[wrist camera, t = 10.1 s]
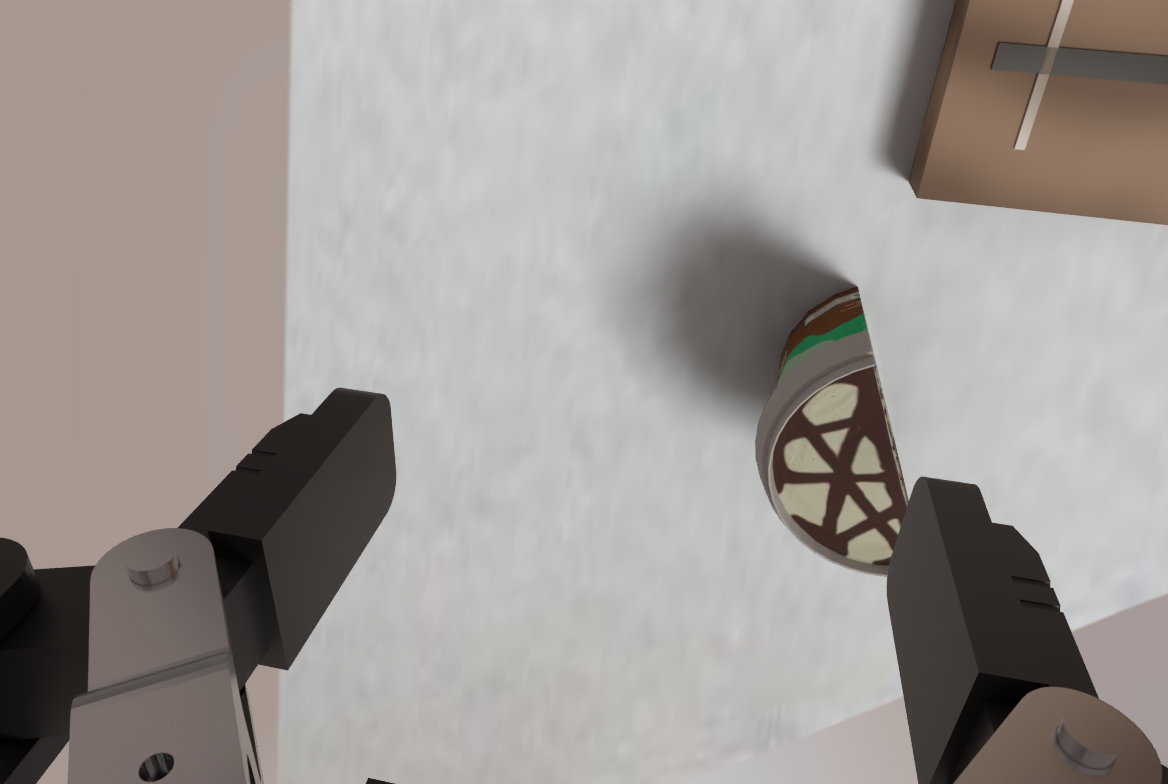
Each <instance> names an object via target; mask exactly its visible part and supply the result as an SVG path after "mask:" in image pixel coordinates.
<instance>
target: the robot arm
mask: <svg viewBox="0 0 1168 784" xmlns="http://www.w3.org/2000/svg"><path fill="white" fill-rule="evenodd" d="M395 486H396V465H395V454H394V442H393V430H392V418H391V408H390V402H389V400H388V398H387V396H386V395H384V394H379V393H372V392H366V391H359V390H352V389H346V388H337V389H335V390H334V391H333V392H332V393H331V394H330V395H329V396H328V397H327V398H326V399H325V400H324V401H323V403H322V404H321V405H320V406H319V407H318V408H317V409H316V410H315V411H314V413H313V414H312V415H308V414H302V413H300V414H299V415H297V416H295V417H293V418H291V419H289V420H288V421H286V422H284V423H282V424H280V425H278V426H277V427H275V428H273V429H271V430H270V431H269V432H268V433H267V434H266V436H265V437H264V438H263V439H262V440H261V441H260V442H259V443H258V444H257V445H256V446H255V447H254V448H253V449H252V454H248V455H246V457H245V458H244V459H243V460H242V461H241V462H240V463H239V464H238V465H237V466H236V470H235V471H231V472H230V473H229V474H228V475H227V477H226V478H225V479H224V480H223V481H222V482H221V483H220V484H219V485H218V486H217V487H216V488H215V489H214V490H213V491H212V492H211V494H209V495H208V496H207V498H206V499H205V500H204V501H203V502H202V503H201V504H200V505H199V506H198V507H197V508H196V509H195V510H194V511H193V512H192V513H191V514H190V515H189V517H188V518H187V519H186V520H185V521H184V522H183V523H182V524H181V525H180V526H179V527H178V528H167V529H159V530H153V531H149V532H146V533H142V534H139V535H136V536H134V537H131V538H129V539H127V540H125V541H123V542H121V543H120V544H118V545H117V546H115V547H113V548H112V549H111V550H110V551H108V552H107V553H106V554H105V555H104V556H103V557H102V558H101V559H100V560H99V561H98V563H97V564H96V565H95V566H82V567H66V568H50V569H35V570H33V567H32V565H31V562H30V560H29V557H28V555H27V552H26V550H25V549H24V547H23V546H22V545H20V544H19V543H17V542H15V541H13V540H10V539H5V538H0V784H36V783H37V781H38V780H39V779H40V778H41V776H42V775H43V774H44V772H45V771H46V770H47V769H48V767H49V766H50V765H51V763H52V762H53V761H54V759H55V758H56V757H57V755H58V754H59V753H60V752H61V750H62V749H63V748H64V746H65V745H66V744H67V742H68V741H69V763H68V764H69V765H68V784H264V781H263V775H262V770H261V764H260V758H259V753H258V746H257V741H256V735H255V730H254V723H253V718H252V712H251V706H250V700H249V694H248V690H247V686H246V682H247V680H248V678H249V677H250V676H251V674H252V673H253V671H254V669H255V668H256V667H257V665H258V664H259V665H264V666H269V667H274V668H279V669H284V670H288V669H289V668H290V666H291V665H292V663H293V661H294V660H295V658H296V657H297V655H298V654H299V652H300V650H301V649H302V647H303V646H304V644H305V642H306V641H307V639H308V638H309V636H310V635H311V633H312V631H313V630H314V628H315V627H316V625H317V623H318V622H319V620H320V619H321V617H322V615H323V614H324V612H325V611H326V609H327V608H328V606H329V604H330V603H331V601H332V600H333V598H334V596H335V595H336V593H337V592H338V590H339V589H340V587H341V585H342V584H343V582H344V581H345V579H346V577H347V576H348V574H349V573H350V571H351V569H352V568H353V566H354V565H355V563H356V562H357V560H358V558H359V557H360V555H361V554H362V552H363V550H364V549H365V547H366V546H367V544H368V543H369V541H370V539H371V538H372V536H373V535H374V533H375V531H376V530H377V528H378V527H379V525H380V523H381V522H382V520H383V519H384V517H385V516H386V514H387V512H388V510H389V508H390V506H391V503H392V500H393V496H394V492H395ZM1050 583H1051V582H1050V580H1049V577H1048V575H1047V572H1046V570H1045V567H1044V565H1043V563H1042V560H1041V558H1040V555H1039V553H1038V552H1037V551H1036V550H1035V549H1034V548H1033V547H1032V546H1031V545H1030V544H1029V543H1028V542H1027V541H1026V540H1025V539H1024V537H1023V536H1022V535H1021V534H1020V533H1019V532H1018V531H1017V530H1016V529H1015V528H1014V527H1013V526H1010V525H1004V524H997V523H992V522H991V519H990V516H989V514H988V511H987V508H986V505H985V502H984V500H983V497H982V494H981V491H980V489H979V488H978V486H977V485H975V484H968V483H962V482H955V481H948V480H942V479H935V478H928V477H920V478H919V479H918V480H917V482H916V483H915V485H914V488H913V491H912V494H911V497H910V500H909V503H908V506H907V509H906V512H905V515H904V518H903V521H902V524H901V527H900V531H899V534H898V537H897V540H896V543H895V546H894V549H893V552H892V555H891V559H890V563H889V568H888V576H887V600H888V606H889V612H890V618H891V624H892V630H893V636H894V642H895V648H896V654H897V660H898V666H899V671H900V677H901V683H902V689H903V695H904V701H905V707H906V713H907V719H908V725H909V730H910V736H911V742H912V748H913V754H914V760H915V766H916V772H917V778H918V784H1168V768H1167V767H1165V766H1163V765H1162V764H1161V762H1160V759H1159V757H1158V755H1157V752H1156V750H1155V748H1154V747H1153V745H1152V743H1151V742H1150V740H1149V739H1148V738H1147V737H1146V735H1145V734H1144V733H1143V732H1142V731H1141V729H1140V728H1139V727H1138V726H1137V725H1136V724H1135V723H1134V722H1132V721H1131V720H1130V719H1129V718H1128V717H1126V716H1125V715H1124V714H1123V713H1121V712H1120V711H1118V710H1117V709H1115V708H1114V707H1113V706H1111V705H1109V704H1107V703H1106V702H1104V701H1102V700H1100V699H1099V698H1098V695H1097V693H1096V690H1095V688H1094V686H1093V683H1092V681H1091V678H1090V676H1089V674H1088V671H1087V669H1086V666H1085V664H1084V662H1083V659H1082V657H1081V654H1080V652H1079V649H1078V647H1077V645H1076V642H1075V640H1074V637H1073V635H1072V633H1071V630H1070V628H1069V625H1068V623H1067V620H1066V618H1065V616H1064V613H1063V612H1060V604H1059V601H1058V599H1057V596H1056V594H1055V592H1054V589H1053V588H1050ZM366 784H394V783H389V782H385V781H380V780H375V779H371V778H368V780H367V782H366Z"/></svg>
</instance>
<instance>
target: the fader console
mask: <svg viewBox="0 0 1168 784" xmlns="http://www.w3.org/2000/svg"><path fill="white" fill-rule="evenodd" d="M909 183H910V185H911V187H912V189H913V191H914V193H915V195H916V197H917V198H922V199H931V200H940V201H949V202H959V203H968V204H977V205H987V206H996V207H1005V208H1014V209H1024V210H1033V211H1042V212H1051V213H1061V214H1070V215H1079V216H1088V217H1098V218H1107V219H1116V220H1126V221H1135V222H1144V223H1153V224H1163V225H1168V0H956V3H955V7H954V11H953V14H952V18H951V22H950V26H949V30H948V34H947V37H946V41H945V45H944V49H943V53H942V57H941V60H940V64H939V68H938V72H937V76H936V80H935V83H934V87H933V91H932V95H931V99H930V102H929V106H928V110H927V114H926V118H925V122H924V125H923V129H922V133H921V137H920V141H919V145H918V148H917V152H916V156H915V160H914V164H913V168H912V171H911V175H910V179H909Z"/></svg>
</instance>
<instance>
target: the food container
mask: <svg viewBox="0 0 1168 784" xmlns="http://www.w3.org/2000/svg"><path fill="white" fill-rule="evenodd" d="M755 446H756V462H757V466H758V470H759V475H760V478H761V481H762V483H763V486H764V489H765V491H766V494H767V496H768V498H769V501H770V503H771V505H772V508H773V509H774V511H775V512H776V514H777V515H778V517H779V518H780V520H781V521H782V522H783V524H784V525H785V526H786V527H787V528H788V529H789V530H790V532H791V533H792V534H793V535H794V536H795V537H796V538H797V539H798V540H799V541H800V542H801V543H802V544H804V545H805V546H806V547H808V548H809V549H810V550H812V551H813V552H814V553H816V554H818V555H819V556H821V557H823V558H825V559H826V560H828V561H830V562H832V563H835V564H837V565H840V566H842V567H844V568H847V569H850V570H854V571H858V572H861V573H865V574H870V575H877V576H884V577H887V576H888V568H889V563H890V559H891V555H892V552H893V549H894V546H895V543H896V540H897V537H898V534H899V531H900V527H901V524H902V521H903V518H904V515H905V512H906V509H907V506H908V503H909V500H908V496H907V492H906V487H905V483H904V479H903V475H902V470H901V466H900V462H899V457H898V453H897V449H896V445H895V440H894V436H893V432H892V428H891V424H890V419H889V415H888V411H887V407H886V403H885V399H884V394H883V390H882V386H881V382H880V378H879V373H878V369H877V365H876V361H875V357H874V353H873V348H872V344H871V340H870V336H869V332H868V328H867V323H866V319H865V315H864V311H863V307H862V303H861V298H860V294H859V290H858V287H856V288H853V289H850V290H847V291H844V292H841V293H838V294H835V295H833V296H832V297H830V298H829V299H827V300H826V301H824V302H822V303H821V304H819V305H818V306H816V307H815V308H813V309H811V310H810V311H809V312H808V313H807V314H806V315H805V316H804V317H803V319H802V320H801V321H800V322H799V323H798V324H797V326H796V327H795V328H794V329H793V330H792V331H791V333H790V335H789V338H788V340H787V343H786V345H785V348H784V350H783V353H782V355H781V361H780V369H779V376H778V384H777V387H776V388H775V390H774V391H773V393H772V395H771V396H770V398H769V400H768V402H767V403H766V405H765V407H764V409H763V412H762V415H761V418H760V421H759V423H758V428H757V435H756V441H755Z"/></svg>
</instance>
